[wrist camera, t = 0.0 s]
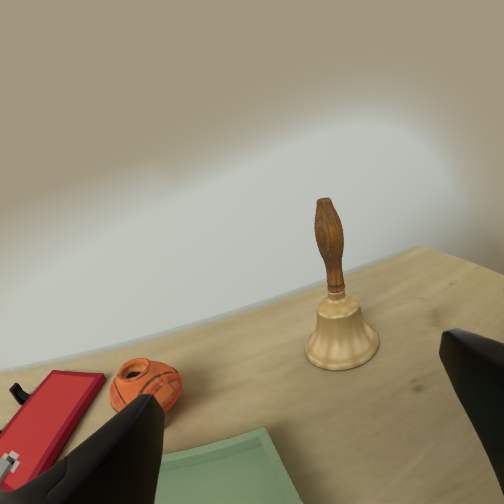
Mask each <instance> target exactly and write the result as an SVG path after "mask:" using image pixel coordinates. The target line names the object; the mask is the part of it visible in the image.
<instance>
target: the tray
mask: <svg viewBox="0 0 504 504" xmlns="http://www.w3.org/2000/svg"><path fill="white" fill-rule="evenodd" d="M154 504H304V503H303V501H302V499H301V498H300V496H299V494H298V492H297V490H296V488H295V486H294V484H293V482H292V480H291V478H290V476H289V475H288V473H287V471H286V469H285V467H284V465H283V463H282V461H281V458H280V456H279V454H278V452H277V450H276V448H275V446H274V444H273V442H272V440H271V438H270V436H269V433H268V431H267V429H266V427H262V428H259V429H256V430H253V431H250V432H247V433H244V434H241V435H238V436H235V437H232V438H228V439H225V440H222V441H218V442H215V443H211V444H207V445H204V446H200V447H196V448H192V449H187V450H183V451H178V452H174V453H169V454H164V455H162V460H161V466H160V471H159V477H158V483H157V489H156V496H155V502H154Z"/></svg>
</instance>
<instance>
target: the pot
mask: <svg viewBox="0 0 504 504" xmlns="http://www.w3.org/2000/svg"><path fill="white" fill-rule="evenodd" d="M181 389H182V379H181V376H180V374H179V373H178V371H177V370H175V369H174V368H172V367H170V366H168V365H166V364H164V363H161V362H157V361H149V360H148V359H145V358H137V359H133V360H130V361H128V362H126V363H125V364H123V365H122V366H121V368H120V370H119V372H118V374H117V376H116V377H115V379H114V380H113V382H112V384H111V387H110V392H109V400H110V404H111V406H112V408H113V409H114V411H115V412H117V413H118V412H120V411H121V410H122V409H123V408H124V407H126V406H127V405H128V404H129V403H130V402H131V401H133V400H134V399H135V398H136V397H137V396H138V395H140V394H153V395H154V396H155V398H156V399H157V401H158V402H159V404H160V405H161V407H162V409H163V410H164V412H166V411H167V410H169V409H170V408H171V407H172V406H173V405H174V403H175V402H176V400H177V398H178V396H179V394H180V392H181Z"/></svg>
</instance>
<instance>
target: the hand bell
mask: <svg viewBox="0 0 504 504" xmlns="http://www.w3.org/2000/svg"><path fill="white" fill-rule="evenodd" d="M315 236H316V241H317V245H318V248H319V251H320V254H321V256H322V258H323V260H324V263H325V265H326V272H327V283H328V297H327V298H325V299H324V300H322V301H321V302H320V303H319V305H318V307H317V325H316V330H315V332H314V333H313V334H312V335H311V336H310V338H309V339H308V341H307V344H306V347H305V353H306V356H307V358H308V359H309V361H310V362H311V363H313V364H314V365H316V366H318V367H320V368H324V369H329V370H347V369H351V368H354V367H357V366H359V365H362V364H364V363H365V362H367V361H368V360H369V359H371V358H372V357H373V356H374V354H375V353H376V351H377V350H378V347H379V338H378V335H377V334H376V332H375V331H374V330H373V329H372V328H371V327H370V326H368V325H367V324H366V323H365V321H364V319H363V316H362V312H361V308H360V303H359V301H358V300H357V299H356V298H355V297H354V296H351V295H346V294H345V290H344V288H345V285H344V279H343V272H342V263H341V262H342V254H343V248H344V247H343V246H344V237H343V229H342V225H341V221H340V218H339V216H338V214H337V212H336V210H335V208H334V206H333V204H332V201H331V199H330V198H321V199H319V200H317V208H316V216H315Z"/></svg>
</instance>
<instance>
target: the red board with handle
mask: <svg viewBox="0 0 504 504" xmlns="http://www.w3.org/2000/svg"><path fill="white" fill-rule="evenodd" d="M105 380H106V377H105V376H104V374H103V373H84V372H70V371H59V370H52V371H51V373H50V374H49V375H48V376H47V377H46V378H45V379H44V381H43V382H42V383H41V384H40V385H39V386H38V388H37V389H36V390H35V391H34V392H33V393H32V395H30V394H28V393H26V392H24V391H23V390H22V388H21V387H20V385H19V384H18V383H15V384H14V385H13V386H12V387H11V388H10V389H9V390H10V392H11V393H12V395H13V396H14V398H15V399H16V400H17V402H18V403H19V404H20V405H23V406H22V407H21V408H20V409H19V410H18V412H17V413H16V414H15V415H14V417H13V418H12V419H11V421H10V422H9V423H8V424H7V426H6V427H5V428H4V430H3V431H0V492H10V491H13V490H15V489H17V488H19V487H21V486H22V485H24V484H26V483H27V482H29V481H31V480H32V479H34V478H36V477H37V476H39V475H40V474H42V473H43V472H45V471H46V470H48V469H49V468H50V467H51V466H52V464H53V462H54V461H55V459H56V457H57V455H58V454H59V452H60V450H61V449H62V447H63V445H64V444H65V442H66V441H67V439H68V437H69V436H70V434H71V432H72V431H73V429H74V428H75V426H76V424H77V423H78V421H79V420H80V418H81V417H82V415H83V413H84V412H85V410H86V409H87V407H88V406H89V404H90V403H91V401H92V400H93V398H94V397H95V395H96V394H97V392H98V391H99V389H100V388H101V386H102V385H103V383H104V382H105ZM25 401H26V402H25ZM24 402H25V403H24ZM13 460H14V461H15V462H14V464H13V465H12V464H11V463H12V462H13Z"/></svg>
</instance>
